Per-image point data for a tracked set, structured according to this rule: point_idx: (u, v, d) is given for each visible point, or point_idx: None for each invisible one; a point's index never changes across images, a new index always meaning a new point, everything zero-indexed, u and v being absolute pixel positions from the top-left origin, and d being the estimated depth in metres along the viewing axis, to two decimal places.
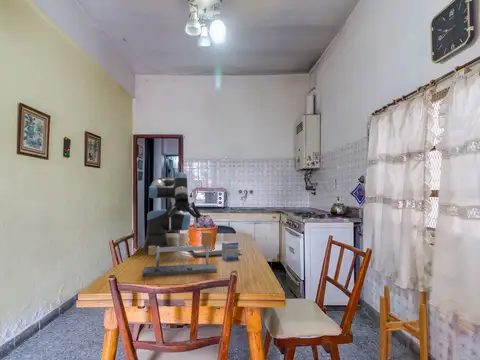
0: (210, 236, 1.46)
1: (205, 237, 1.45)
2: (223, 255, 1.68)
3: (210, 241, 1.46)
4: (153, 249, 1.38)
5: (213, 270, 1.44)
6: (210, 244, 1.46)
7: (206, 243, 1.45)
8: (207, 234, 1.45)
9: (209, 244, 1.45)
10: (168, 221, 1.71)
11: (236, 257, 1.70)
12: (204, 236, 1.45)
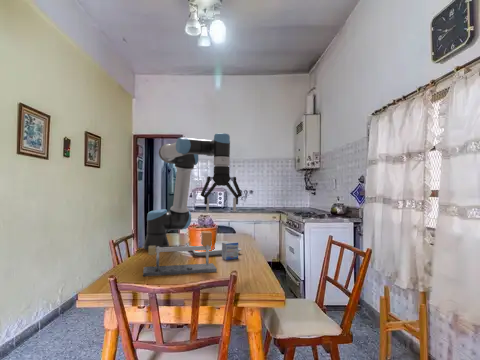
0: (210, 236, 1.46)
1: (205, 237, 1.45)
2: (223, 255, 1.68)
3: (210, 241, 1.46)
4: (153, 249, 1.38)
5: (213, 270, 1.44)
6: (210, 244, 1.46)
7: (206, 243, 1.45)
8: (207, 234, 1.45)
9: (209, 244, 1.45)
10: (206, 202, 1.47)
11: (236, 257, 1.70)
12: (204, 236, 1.45)
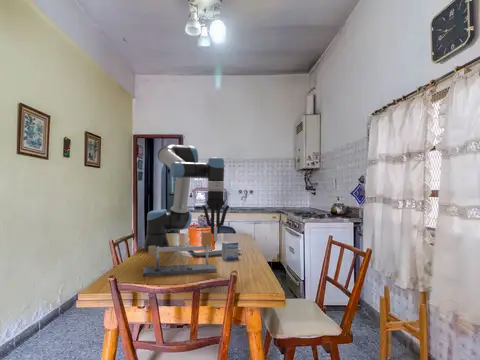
0: (210, 236, 1.46)
1: (205, 237, 1.45)
2: (223, 255, 1.68)
3: (210, 241, 1.46)
4: (153, 249, 1.38)
5: (213, 270, 1.44)
6: (210, 244, 1.46)
7: (206, 243, 1.45)
8: (207, 234, 1.45)
9: (209, 244, 1.45)
10: (212, 231, 1.48)
11: (236, 257, 1.70)
12: (204, 236, 1.45)
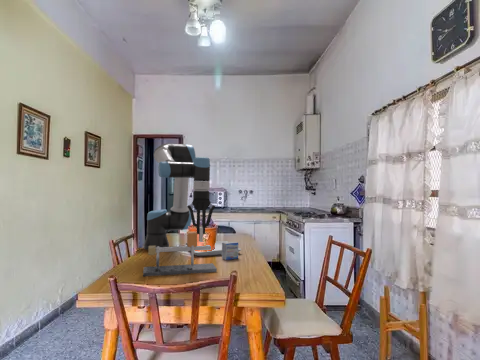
0: (195, 236, 1.44)
1: (190, 237, 1.43)
2: (223, 255, 1.68)
3: (195, 242, 1.44)
4: (153, 249, 1.38)
5: (213, 270, 1.44)
6: (195, 245, 1.44)
7: (191, 244, 1.43)
8: (192, 234, 1.43)
9: (194, 245, 1.44)
10: (198, 232, 1.46)
11: (236, 257, 1.70)
12: (189, 236, 1.43)
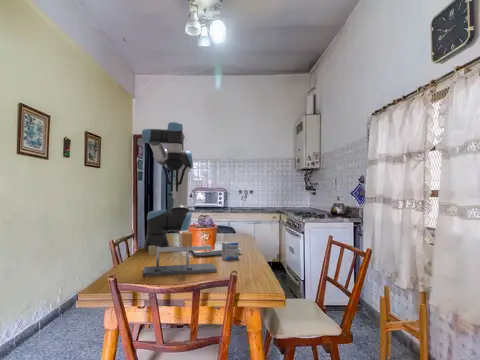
0: (190, 237, 1.43)
1: (185, 238, 1.43)
2: (223, 255, 1.68)
3: (190, 242, 1.43)
4: (153, 249, 1.38)
5: (213, 270, 1.44)
6: (190, 245, 1.43)
7: (186, 244, 1.43)
8: (187, 235, 1.43)
9: (189, 245, 1.43)
10: (171, 189, 1.63)
11: (236, 257, 1.70)
12: (184, 237, 1.42)
